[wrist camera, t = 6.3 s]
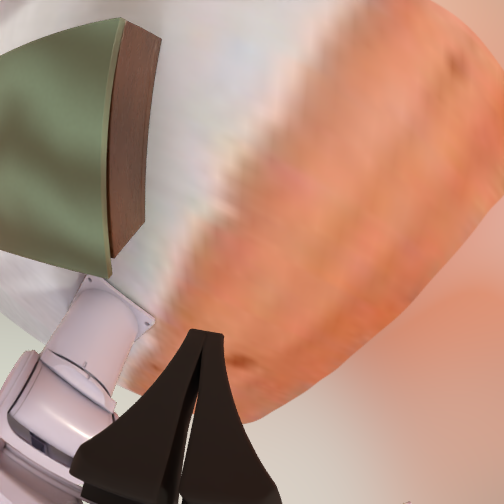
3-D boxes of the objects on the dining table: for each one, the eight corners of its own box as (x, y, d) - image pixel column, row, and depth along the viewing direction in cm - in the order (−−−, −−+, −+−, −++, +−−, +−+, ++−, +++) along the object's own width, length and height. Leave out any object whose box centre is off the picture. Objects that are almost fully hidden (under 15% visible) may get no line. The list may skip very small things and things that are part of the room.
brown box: (145, 222, 20) (114, 258, 15) (39, 206, 19) (2, 233, 14) (162, 38, 13) (126, 19, 8) (40, 59, 12) (-5, 60, 8)
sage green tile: (112, 274, 15) (108, 279, 14) (1, 245, 14) (-4, 248, 14) (126, 19, 8) (120, 17, 8) (-6, 60, 8) (-11, 61, 7)
